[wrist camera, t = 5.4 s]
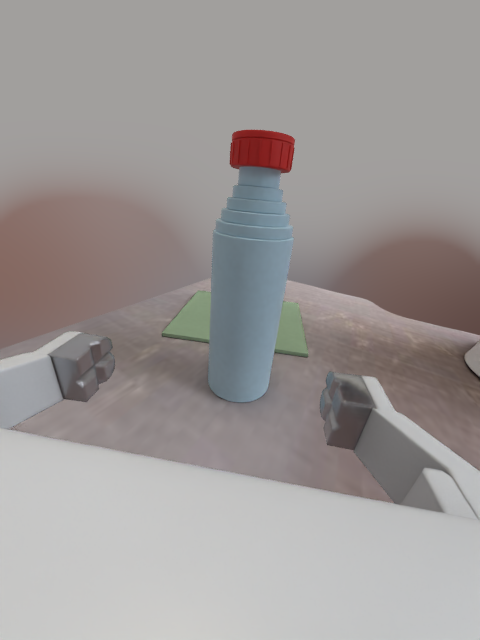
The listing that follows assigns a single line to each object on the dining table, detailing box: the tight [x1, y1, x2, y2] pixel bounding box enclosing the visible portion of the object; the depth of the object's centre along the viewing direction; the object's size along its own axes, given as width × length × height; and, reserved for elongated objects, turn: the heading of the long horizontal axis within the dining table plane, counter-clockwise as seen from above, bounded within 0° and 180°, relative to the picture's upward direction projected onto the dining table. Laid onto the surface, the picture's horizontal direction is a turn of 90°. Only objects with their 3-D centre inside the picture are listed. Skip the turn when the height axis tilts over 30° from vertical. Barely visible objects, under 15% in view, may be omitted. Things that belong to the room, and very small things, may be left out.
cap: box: [230, 130, 295, 173], centre depth 16 cm, size 4×4×2 cm
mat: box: [162, 291, 308, 357], centre depth 37 cm, size 18×16×1 cm
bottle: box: [208, 166, 294, 402], centre depth 20 cm, size 6×6×19 cm
